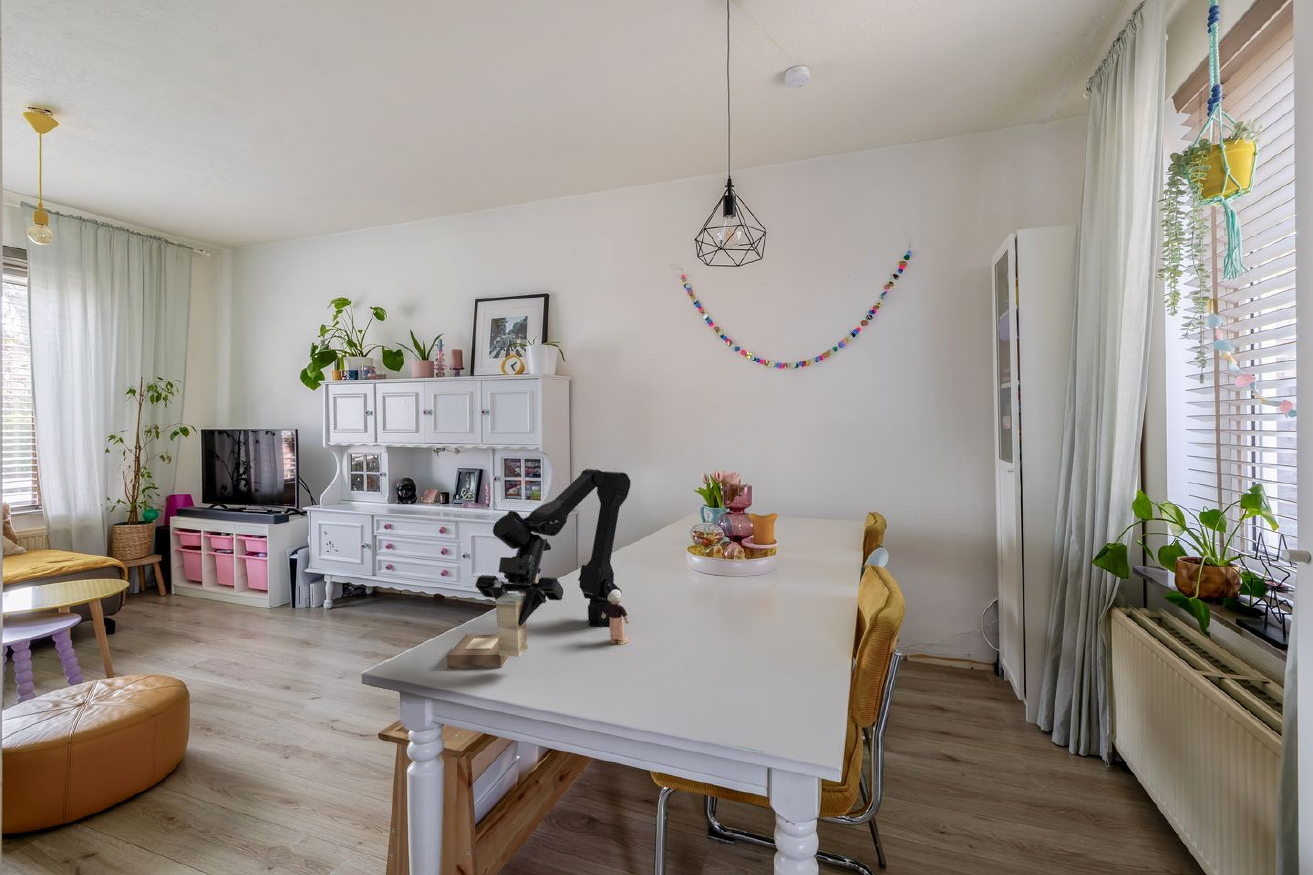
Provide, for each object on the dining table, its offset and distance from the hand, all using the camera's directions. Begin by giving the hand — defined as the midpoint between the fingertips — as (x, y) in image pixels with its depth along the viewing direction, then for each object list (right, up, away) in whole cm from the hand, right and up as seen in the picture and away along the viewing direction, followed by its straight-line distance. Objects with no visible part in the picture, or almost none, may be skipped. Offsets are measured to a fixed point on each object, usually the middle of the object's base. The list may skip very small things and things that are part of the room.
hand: (509, 624), depth 140 cm
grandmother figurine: (+22, -9, +18) cm, 30 cm away
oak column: (+1, -6, +2) cm, 7 cm away
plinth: (-9, -11, +12) cm, 18 cm away
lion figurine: (-4, -8, +46) cm, 47 cm away
